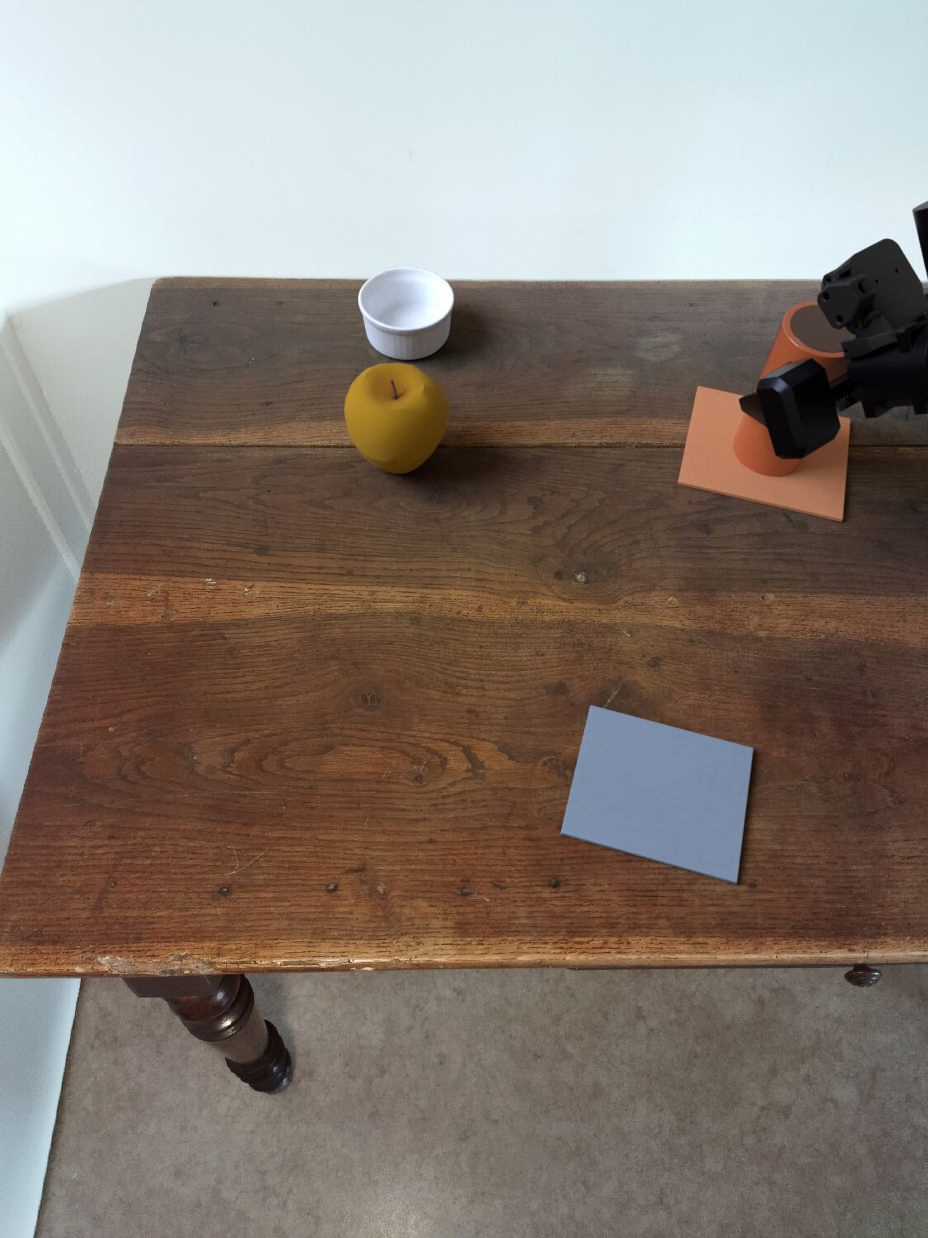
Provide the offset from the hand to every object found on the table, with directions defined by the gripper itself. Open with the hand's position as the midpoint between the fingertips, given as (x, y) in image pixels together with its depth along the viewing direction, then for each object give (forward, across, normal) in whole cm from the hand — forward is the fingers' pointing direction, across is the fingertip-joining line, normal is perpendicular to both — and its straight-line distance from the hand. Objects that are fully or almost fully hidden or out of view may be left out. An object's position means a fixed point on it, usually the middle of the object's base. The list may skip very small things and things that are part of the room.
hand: (781, 381), depth 73 cm
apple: (+17, +27, -6) cm, 33 cm away
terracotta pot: (+4, 0, +6) cm, 7 cm away
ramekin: (+26, +18, -15) cm, 35 cm away
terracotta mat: (+4, 0, +6) cm, 7 cm away
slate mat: (-9, +29, +19) cm, 36 cm away
